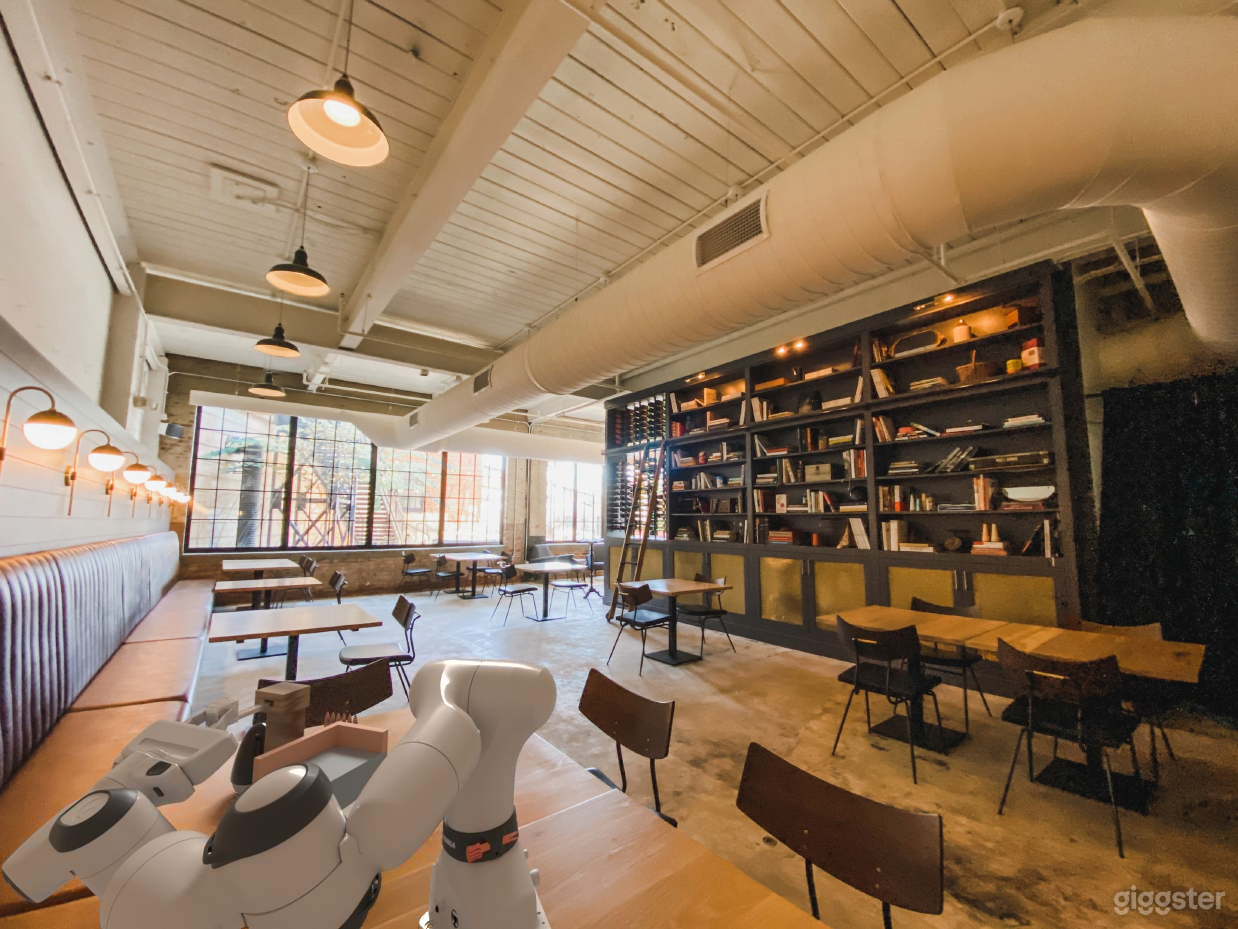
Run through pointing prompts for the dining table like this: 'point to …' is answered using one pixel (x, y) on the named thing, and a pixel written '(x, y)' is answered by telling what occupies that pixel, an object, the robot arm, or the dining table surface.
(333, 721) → the ammunition clip
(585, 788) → the dining table surface
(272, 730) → the walnut post
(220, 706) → the aluminium bracket
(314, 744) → the terracotta walls
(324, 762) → the slate crate
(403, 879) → the dining table surface
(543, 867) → the dining table surface
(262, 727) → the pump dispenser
